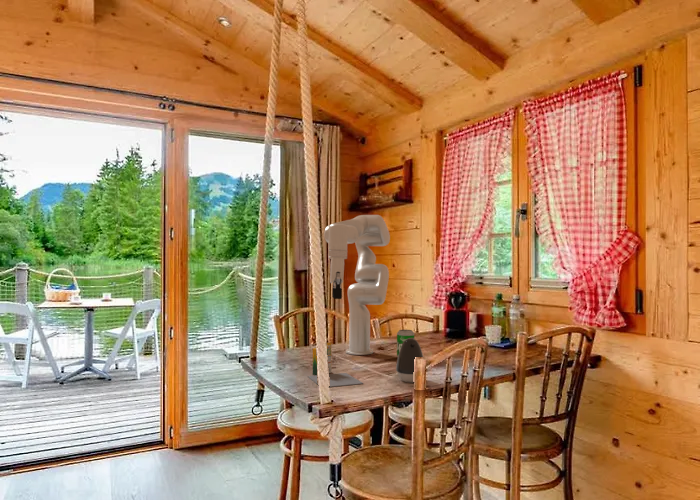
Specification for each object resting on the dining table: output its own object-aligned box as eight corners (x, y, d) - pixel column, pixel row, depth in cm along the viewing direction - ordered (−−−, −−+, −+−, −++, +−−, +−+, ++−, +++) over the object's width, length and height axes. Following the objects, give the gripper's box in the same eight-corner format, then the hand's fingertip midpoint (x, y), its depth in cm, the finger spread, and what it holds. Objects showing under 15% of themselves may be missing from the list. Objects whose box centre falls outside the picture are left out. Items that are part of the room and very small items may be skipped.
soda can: (394, 357, 217) (394, 329, 217) (409, 356, 219) (410, 328, 219) (401, 360, 210) (401, 332, 210) (417, 359, 212) (417, 331, 212)
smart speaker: (398, 384, 170) (399, 340, 170) (394, 377, 180) (394, 335, 181) (428, 384, 171) (428, 340, 171) (421, 377, 181) (421, 335, 181)
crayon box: (326, 371, 189) (326, 341, 189) (331, 372, 187) (332, 342, 187) (312, 374, 184) (312, 343, 184) (317, 376, 182) (317, 344, 182)
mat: (307, 376, 180) (307, 376, 180) (346, 373, 186) (346, 372, 186) (322, 388, 165) (322, 387, 165) (363, 383, 171) (363, 383, 171)
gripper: (327, 255, 205) (326, 296, 205) (329, 254, 188) (328, 299, 187) (345, 256, 206) (344, 297, 205) (348, 254, 189) (347, 299, 188)
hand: (336, 298), depth 196 cm, fingers open, 9 cm apart
